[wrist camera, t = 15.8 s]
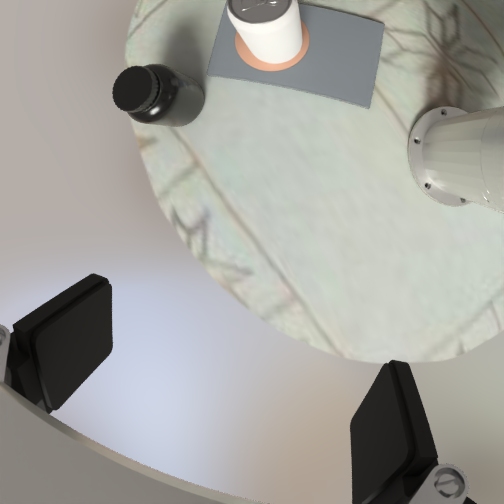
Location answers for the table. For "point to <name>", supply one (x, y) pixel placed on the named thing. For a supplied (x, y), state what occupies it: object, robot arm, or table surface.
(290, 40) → the can
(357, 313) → the table surface
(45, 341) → the robot arm
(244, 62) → the card
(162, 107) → the supplement bottle
